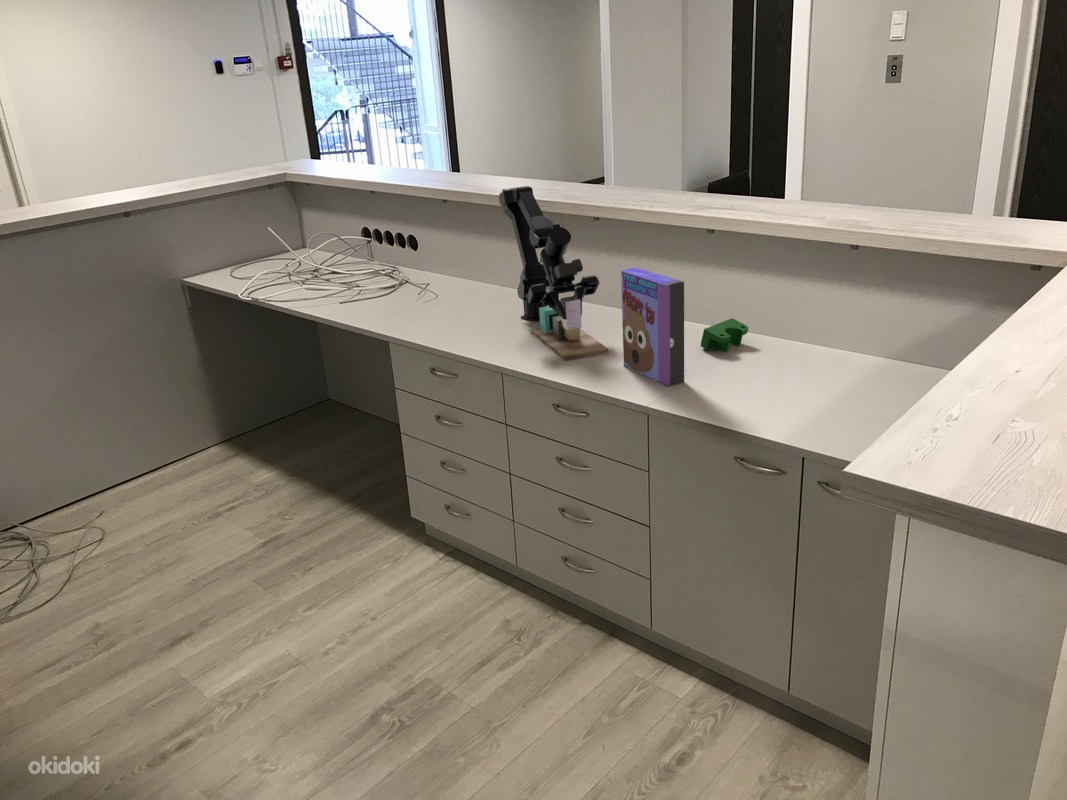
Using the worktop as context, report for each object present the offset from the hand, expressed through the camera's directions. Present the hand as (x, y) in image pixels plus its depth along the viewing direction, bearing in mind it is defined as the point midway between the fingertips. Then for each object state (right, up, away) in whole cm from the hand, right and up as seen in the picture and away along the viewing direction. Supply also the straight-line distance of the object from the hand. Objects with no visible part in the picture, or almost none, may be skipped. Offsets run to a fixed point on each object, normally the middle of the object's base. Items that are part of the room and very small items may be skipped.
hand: (572, 317), depth 226 cm
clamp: (+38, -8, -4) cm, 40 cm away
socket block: (-4, -2, +15) cm, 16 cm away
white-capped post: (-2, -3, +9) cm, 9 cm away
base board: (-1, -6, +8) cm, 10 cm away
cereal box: (+18, -15, -18) cm, 30 cm away
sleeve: (-2, -4, +8) cm, 9 cm away
